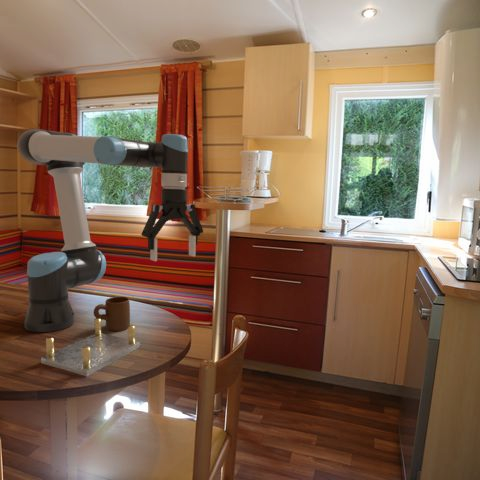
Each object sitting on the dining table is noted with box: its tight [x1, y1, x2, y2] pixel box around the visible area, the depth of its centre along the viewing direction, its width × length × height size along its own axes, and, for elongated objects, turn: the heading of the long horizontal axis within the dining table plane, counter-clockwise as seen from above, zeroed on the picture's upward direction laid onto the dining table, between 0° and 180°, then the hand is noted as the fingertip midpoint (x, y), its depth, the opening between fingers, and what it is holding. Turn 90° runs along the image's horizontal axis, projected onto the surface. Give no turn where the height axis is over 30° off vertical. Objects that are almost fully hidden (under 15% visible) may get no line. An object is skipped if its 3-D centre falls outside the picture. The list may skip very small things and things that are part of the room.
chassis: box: [40, 317, 141, 377], centre depth 109 cm, size 16×20×6 cm
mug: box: [93, 296, 131, 332], centre depth 128 cm, size 12×8×9 cm, turn 137°
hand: (173, 258), depth 121 cm, fingers open, 13 cm apart
